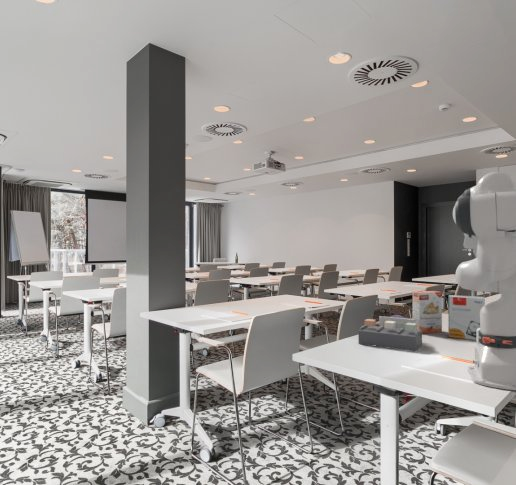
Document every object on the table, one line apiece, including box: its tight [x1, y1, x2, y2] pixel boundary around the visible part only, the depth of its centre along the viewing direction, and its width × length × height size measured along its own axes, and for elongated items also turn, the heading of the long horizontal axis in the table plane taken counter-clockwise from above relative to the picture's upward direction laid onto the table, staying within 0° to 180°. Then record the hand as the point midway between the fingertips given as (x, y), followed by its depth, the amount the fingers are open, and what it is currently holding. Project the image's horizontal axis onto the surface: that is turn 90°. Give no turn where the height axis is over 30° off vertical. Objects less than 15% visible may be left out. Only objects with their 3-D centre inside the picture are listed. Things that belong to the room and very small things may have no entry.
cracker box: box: [412, 290, 443, 334], centre depth 198 cm, size 14×6×21 cm, turn 105°
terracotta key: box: [363, 318, 377, 327], centre depth 178 cm, size 4×4×2 cm
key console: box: [358, 315, 423, 352], centre depth 176 cm, size 20×25×10 cm
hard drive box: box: [447, 294, 486, 341], centre depth 185 cm, size 16×8×20 cm, turn 62°
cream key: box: [384, 321, 396, 329], centre depth 174 cm, size 4×4×2 cm
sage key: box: [405, 323, 417, 331], centre depth 169 cm, size 4×4×2 cm
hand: (491, 261), depth 153 cm, fingers open, 8 cm apart
